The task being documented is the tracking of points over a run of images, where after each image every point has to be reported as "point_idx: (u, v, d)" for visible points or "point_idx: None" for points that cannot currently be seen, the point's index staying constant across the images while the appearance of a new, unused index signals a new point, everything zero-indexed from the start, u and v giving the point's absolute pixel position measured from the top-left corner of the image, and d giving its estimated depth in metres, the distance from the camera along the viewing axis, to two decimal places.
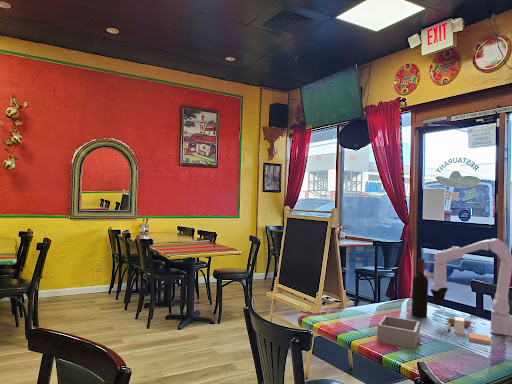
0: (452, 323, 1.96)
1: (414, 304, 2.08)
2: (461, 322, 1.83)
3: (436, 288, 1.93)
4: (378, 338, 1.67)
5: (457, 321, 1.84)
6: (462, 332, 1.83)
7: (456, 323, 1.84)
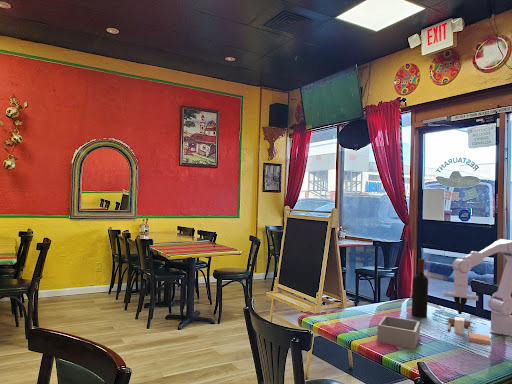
0: (452, 323, 1.96)
1: (414, 304, 2.08)
2: (461, 322, 1.83)
3: (443, 293, 1.89)
4: (378, 338, 1.67)
5: (457, 321, 1.84)
6: (462, 332, 1.83)
7: (456, 323, 1.84)
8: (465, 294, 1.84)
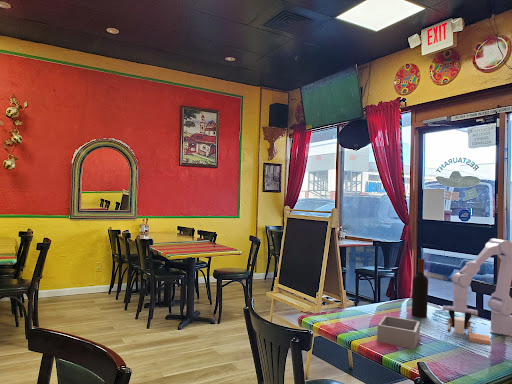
0: None
1: (414, 304, 2.08)
2: (461, 322, 1.83)
3: None
4: (378, 338, 1.67)
5: (457, 321, 1.84)
6: (462, 332, 1.83)
7: (456, 323, 1.84)
8: (464, 308, 1.84)
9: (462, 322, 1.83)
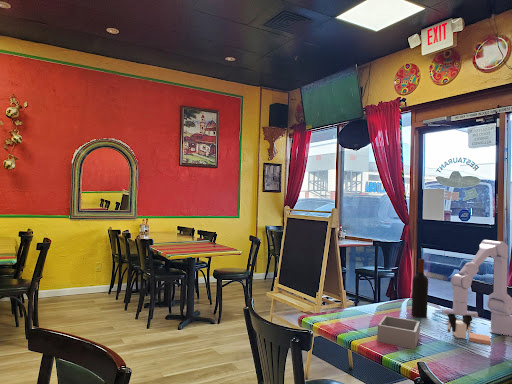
0: None
1: (414, 304, 2.08)
2: (463, 326, 1.75)
3: (442, 311, 1.79)
4: (378, 338, 1.67)
5: (459, 325, 1.76)
6: (464, 336, 1.75)
7: (458, 327, 1.76)
8: (466, 311, 1.76)
9: (464, 326, 1.75)
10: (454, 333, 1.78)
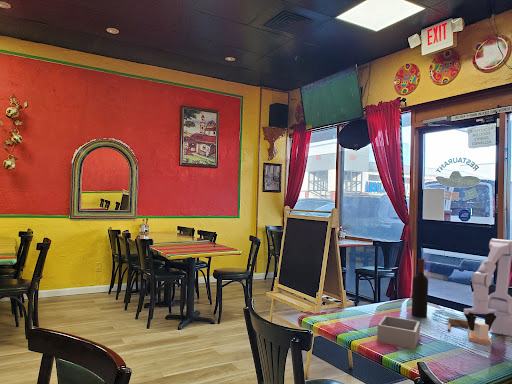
0: (452, 323, 1.96)
1: (414, 304, 2.08)
2: (486, 326, 1.72)
3: (465, 311, 1.74)
4: (378, 338, 1.67)
5: (482, 326, 1.72)
6: (487, 337, 1.72)
7: (481, 329, 1.72)
8: (487, 309, 1.74)
9: (487, 327, 1.73)
10: (475, 334, 1.75)
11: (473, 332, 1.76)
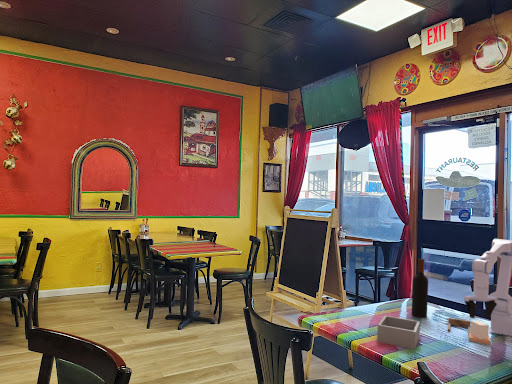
0: (452, 323, 1.96)
1: (414, 304, 2.08)
2: (486, 326, 1.72)
3: (465, 298, 1.74)
4: (378, 338, 1.67)
5: (482, 326, 1.72)
6: (487, 337, 1.72)
7: (481, 329, 1.72)
8: (488, 296, 1.74)
9: (487, 327, 1.73)
10: (475, 334, 1.75)
11: (473, 332, 1.76)
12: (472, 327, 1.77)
